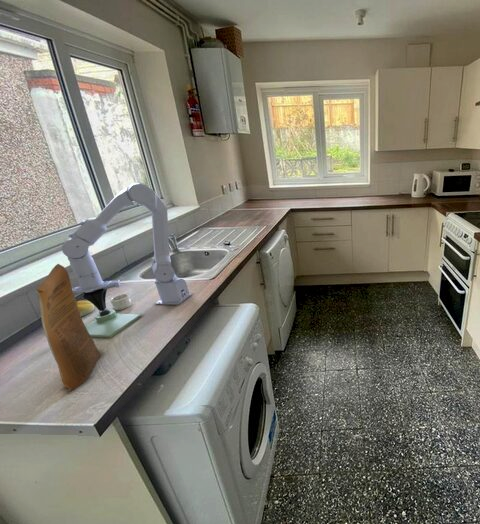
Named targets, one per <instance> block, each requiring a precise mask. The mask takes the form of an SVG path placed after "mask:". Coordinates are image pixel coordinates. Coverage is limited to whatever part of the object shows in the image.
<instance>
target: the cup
mask: <svg viewBox="0 0 480 524" xmlns="http://www.w3.org/2000/svg"><path fill="white" fill-rule="evenodd" d="M109 301H110V303H111V305H112V309H114V310H115V311H120V310H124V309H127V308H129V307H130V306H131V305H132V304H133V303H132V300H131V297H130V295H129V293H120V294H117V295H115V296H112V297H111V298H110V299H109Z"/></svg>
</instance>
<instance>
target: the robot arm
mask: <svg viewBox="0 0 480 524" xmlns="http://www.w3.org/2000/svg"><path fill="white" fill-rule="evenodd" d="M134 202H135V203H137V204H139V205H141V206H144V207H145V208H146V209H148V210H149V211H150V212H151V224H152V225H151V226H152V238H153V239H152V241H153V262H152V264H151V267H150V269H151V271H152V272H153V277H154V280H153V281H154V284H155V287H156V290H157V294H158V296H159V300H158V301H156V302H155V305H176V306H177V305H180V304H181V303H182V302H184V301H185V300H186V299H188V298H189V297H190V296H192V293H190V291H189V288H188V284H187V282H186V280H185V279H184V278H180V277H178V276H177V274H176V273H175V270H174V268H173V267H172V261H171V256H170V240H169V239H170V238H169V237H170V236H169V219H168V217H169V215H168V214H169V213H168V206H167V204H166V203H165V202H164V201H163V199H162V198H161V197H160V196H159V195H158V194H157V192H156V191H155V190H154V189H152V188H151V187H149V186H148V185H146V184H145V183H143V182H139V181H134V182H130V183H129V185H128V186H127V187H125V188H123V189H122V190H121V191H119V193H117V194H116V195H115V196H114V197H113V198H112V199H111V200H110V201H109V202H108V203H107V204H106V206H105V207H104V208H103V209H102V210H101V211H100V212H99V214H97V216H96V217H93V218H92V217H91V218H86V220H81V221H80V222H79V224H80V226H79V227H78V228H77V229H76V230H75V231H74V232H73V233H72V232H71V233H69V234H68V238H67V239H65V240H64V242H63V244H62V245H61V251H62V253H63V254H64V255H65V256H66V257H67V260H68V262H69V266H70V267H71V270H72V272H73V274H74V276H75V278H76V281H77V282H78V286H74V287H72V291H73V293H74V296H75V295H79V294H83V299H85V301H89V302H91V303H92V304H94V306H95V308H96V309H97V310H98V312H99V311H103V310H105V309H107V304H106V303H107V302H106V296H107V291H108V289H112V288H116V289H117V288H120V287H121V286H122V283H121V281H120V279H116V280H103V278H102V276H101V274H100V272H99V269H98V267H97V264H96V262H95V260H94V258H93V257H92V254H91V253H90V251H89V248H90V247H91V246H94V244H96V242H98V241H99V239H101V237H102V236H103V235H104V234H106V232H107V231H108V227H107V224H108V223H109V222H111V220H112V219H114V217H115V216H117V214H118V213H119V212H120V211H122V209H123V208H125V207H130V206H134V205H135V204H134Z"/></svg>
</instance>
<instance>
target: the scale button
mask: <svg viewBox="0 0 480 524" xmlns="http://www.w3.org/2000/svg"><path fill="white" fill-rule="evenodd" d="M109 309H110V308H106V309H105V310H103V311H99V310H98V313H99V314H100V316H105V315H107V314H109V313H110V312H109Z"/></svg>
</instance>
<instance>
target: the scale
mask: <svg viewBox="0 0 480 524" xmlns="http://www.w3.org/2000/svg"><path fill="white" fill-rule="evenodd" d="M108 309H109V312H110V313H109V314H107V315H105V316H100V314H99V312H98V313H96V314H95V315H94V320H92V321H90V322H88V323H87V324H84V325H85V327H86V329H87V331H88V332H89V334H90V336H91V338H112V337H114V336H115V335H117V334H118V333H120V332H121V331H123V330H124V329H126V327H128V326H129V325H131V324H133V323H134V322H135V321H137V320H138V319H139V318H141V317H142V315H141V314H140V313H139V314H138V313H117V311H116V309H114V308H108Z"/></svg>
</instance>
